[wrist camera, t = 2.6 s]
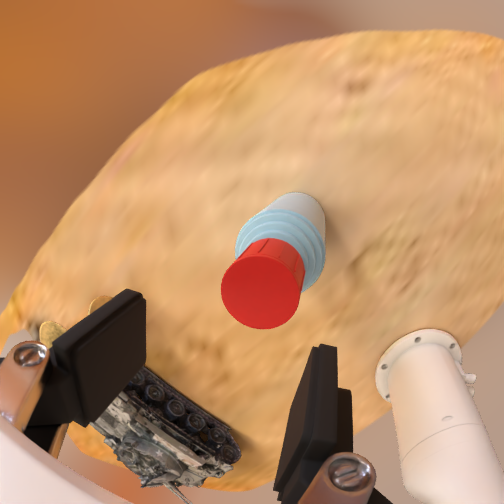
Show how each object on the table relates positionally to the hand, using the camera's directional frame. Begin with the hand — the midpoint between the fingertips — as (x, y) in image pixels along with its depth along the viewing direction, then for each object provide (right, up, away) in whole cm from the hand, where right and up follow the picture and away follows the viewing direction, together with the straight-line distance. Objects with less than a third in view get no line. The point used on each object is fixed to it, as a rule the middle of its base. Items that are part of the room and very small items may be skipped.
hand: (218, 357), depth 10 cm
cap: (+2, +2, +9) cm, 9 cm away
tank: (-14, -25, +38) cm, 48 cm away
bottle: (+6, +7, +24) cm, 26 cm away
